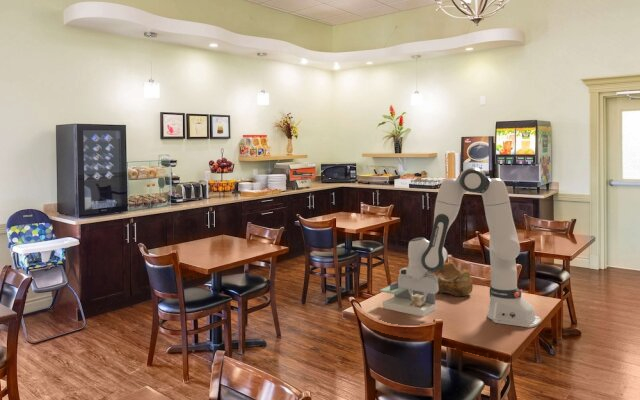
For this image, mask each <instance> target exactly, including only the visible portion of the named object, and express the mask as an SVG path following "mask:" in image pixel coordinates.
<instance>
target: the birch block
mask: <svg viewBox="0 0 640 400" xmlns="http://www.w3.org/2000/svg"><path fill="white" fill-rule="evenodd" d="M423 296H424V295H420V294H415V295H413V296H412V306H415V307H419V308H421V307H423V306H425V301H422V297H423Z"/></svg>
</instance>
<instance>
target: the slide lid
mask: <svg viewBox="0 0 640 400" xmlns="http://www.w3.org/2000/svg"><path fill="white" fill-rule="evenodd" d="M407 290H408V289H404V288H400V287H398V281H394V282H391V283H390V284H389V285H388V286H385V287H384V288H381V289H379V292H380V293H387V294H391V295H394V294H396V295H398V294H400V293H402V292H405V291H407Z"/></svg>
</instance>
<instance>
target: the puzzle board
mask: <svg viewBox="0 0 640 400" xmlns="http://www.w3.org/2000/svg"><path fill="white" fill-rule="evenodd" d="M398 287H399V286H398ZM412 292H413V294H414V295H415V294H420V295H425V294H423V292H421V291H415V290H413V291H412ZM393 295H394V296H392V297H390V298H389V299H386V300H384V301H382V309H387V310H389V311H390V310H391V311H396V312H399V313H400V312H401V313H404V314H410V315H413V316H418V317H423V318H424V317H425V316H427V315H429V314H431V313H432V312H434V311H436V293H435V294H432V293H428V295H427V296H426V301H425V306H423V307H421V308H419V307H415V306H412V299H411V295H410V294H409V292H408V290H407V291H405V292H402V293H400V294H398V295H396V294H393Z"/></svg>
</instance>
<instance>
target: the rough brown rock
mask: <svg viewBox="0 0 640 400" xmlns="http://www.w3.org/2000/svg"><path fill="white" fill-rule="evenodd" d="M436 276H437V277H438V287H439V291H438V292H437V293H441V294H442V293H447V294H449V295H452V296H454V297H460V296H462V297H463V296H468V295H470V294H471V293H472V292H473V289H474V288H473V286H474V285H473V280H472V277H471V272H470V270H469V269H463V270H461V269H460V268H458V267H457V265H456V263H455V262H451V261H447V262H446V261H445V262H444V264H443V267H442V268H441V269H440V270H439V271H437V275H436Z"/></svg>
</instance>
